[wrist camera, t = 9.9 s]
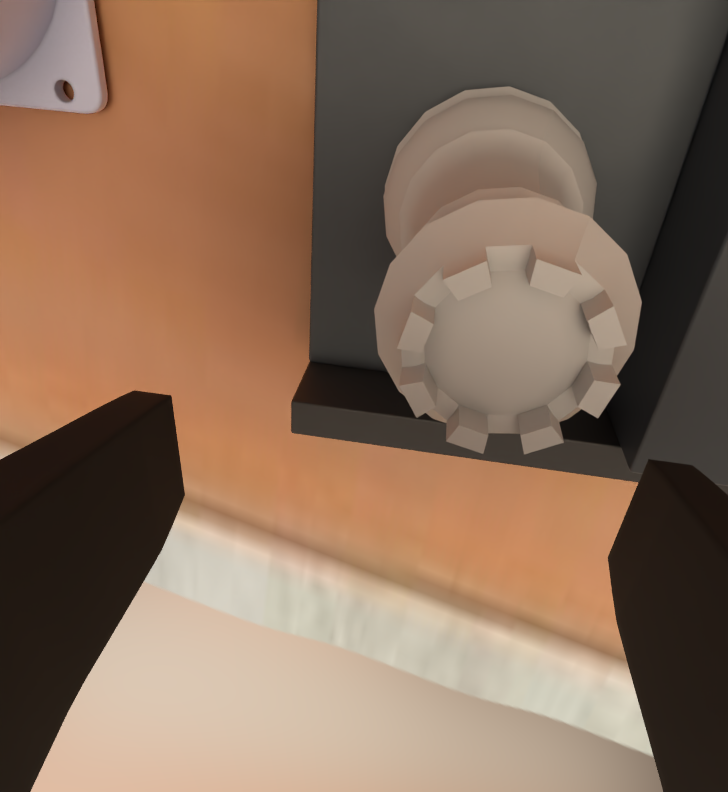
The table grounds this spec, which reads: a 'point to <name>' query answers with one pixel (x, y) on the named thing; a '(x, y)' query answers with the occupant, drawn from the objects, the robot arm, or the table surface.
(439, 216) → the rook chess piece
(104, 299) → the table surface
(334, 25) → the dark grey stepped block
